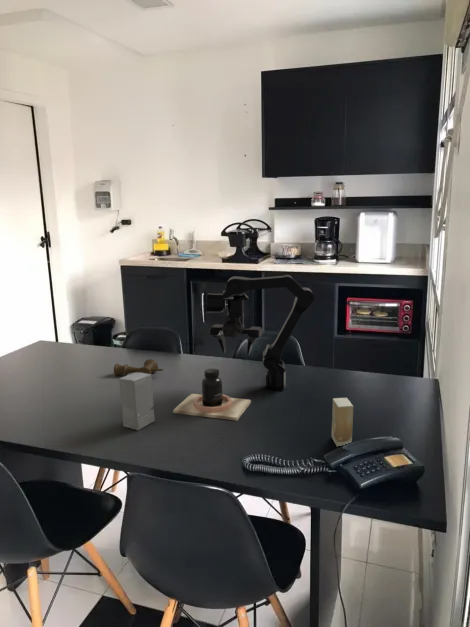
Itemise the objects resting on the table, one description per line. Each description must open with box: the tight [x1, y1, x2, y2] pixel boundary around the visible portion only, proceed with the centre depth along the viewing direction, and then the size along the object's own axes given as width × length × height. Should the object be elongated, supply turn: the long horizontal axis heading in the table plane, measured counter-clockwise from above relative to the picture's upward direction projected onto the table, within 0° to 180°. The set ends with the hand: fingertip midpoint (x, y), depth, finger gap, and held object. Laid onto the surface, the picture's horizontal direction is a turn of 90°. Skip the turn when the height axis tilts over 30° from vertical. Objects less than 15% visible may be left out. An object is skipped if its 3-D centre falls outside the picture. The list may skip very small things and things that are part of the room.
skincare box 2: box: [331, 397, 354, 448], centre depth 142 cm, size 6×4×12 cm
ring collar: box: [194, 393, 232, 413], centre depth 169 cm, size 12×12×2 cm
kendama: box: [113, 358, 164, 377], centre depth 201 cm, size 6×10×20 cm
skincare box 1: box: [118, 372, 156, 431], centre depth 156 cm, size 8×7×16 cm
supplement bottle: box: [201, 368, 223, 407], centre depth 168 cm, size 7×7×12 cm
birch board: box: [172, 393, 252, 421], centre depth 169 cm, size 22×15×1 cm
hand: (236, 353), depth 184 cm, fingers open, 9 cm apart
